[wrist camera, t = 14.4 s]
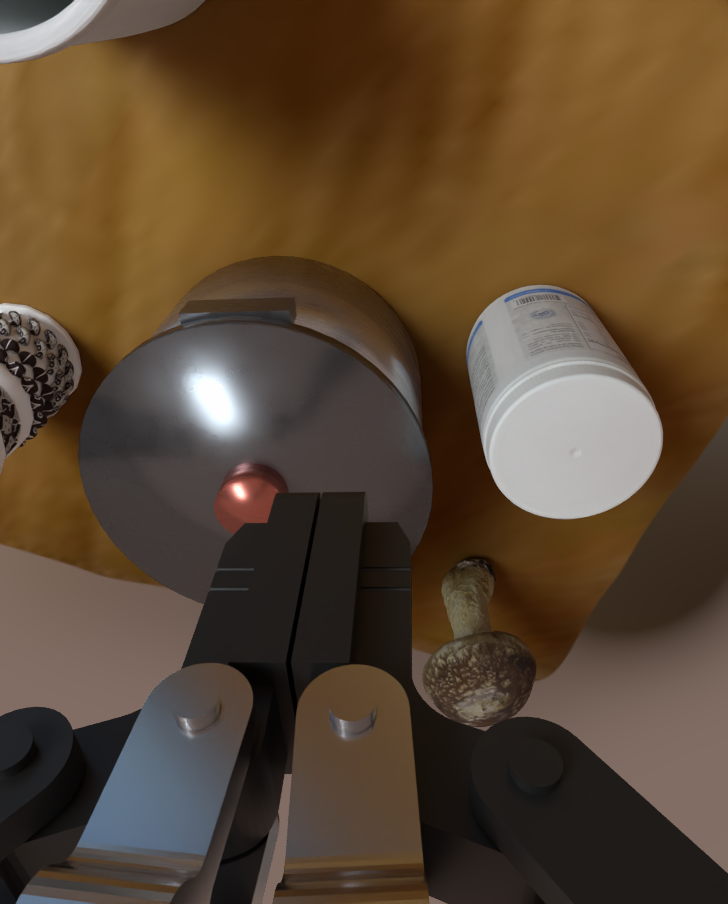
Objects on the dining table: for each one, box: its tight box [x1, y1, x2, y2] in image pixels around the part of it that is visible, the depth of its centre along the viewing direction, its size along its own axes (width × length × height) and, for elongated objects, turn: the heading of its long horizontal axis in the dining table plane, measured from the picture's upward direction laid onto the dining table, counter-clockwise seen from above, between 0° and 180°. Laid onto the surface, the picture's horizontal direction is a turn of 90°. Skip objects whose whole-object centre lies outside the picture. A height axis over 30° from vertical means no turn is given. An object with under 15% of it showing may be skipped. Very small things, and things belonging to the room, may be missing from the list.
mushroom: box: [422, 558, 536, 727], centre depth 54 cm, size 9×9×15 cm
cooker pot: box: [151, 256, 422, 428], centre depth 47 cm, size 20×21×12 cm
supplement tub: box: [466, 285, 663, 519], centre depth 43 cm, size 10×10×15 cm
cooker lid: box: [78, 316, 433, 604], centre depth 41 cm, size 21×24×3 cm
